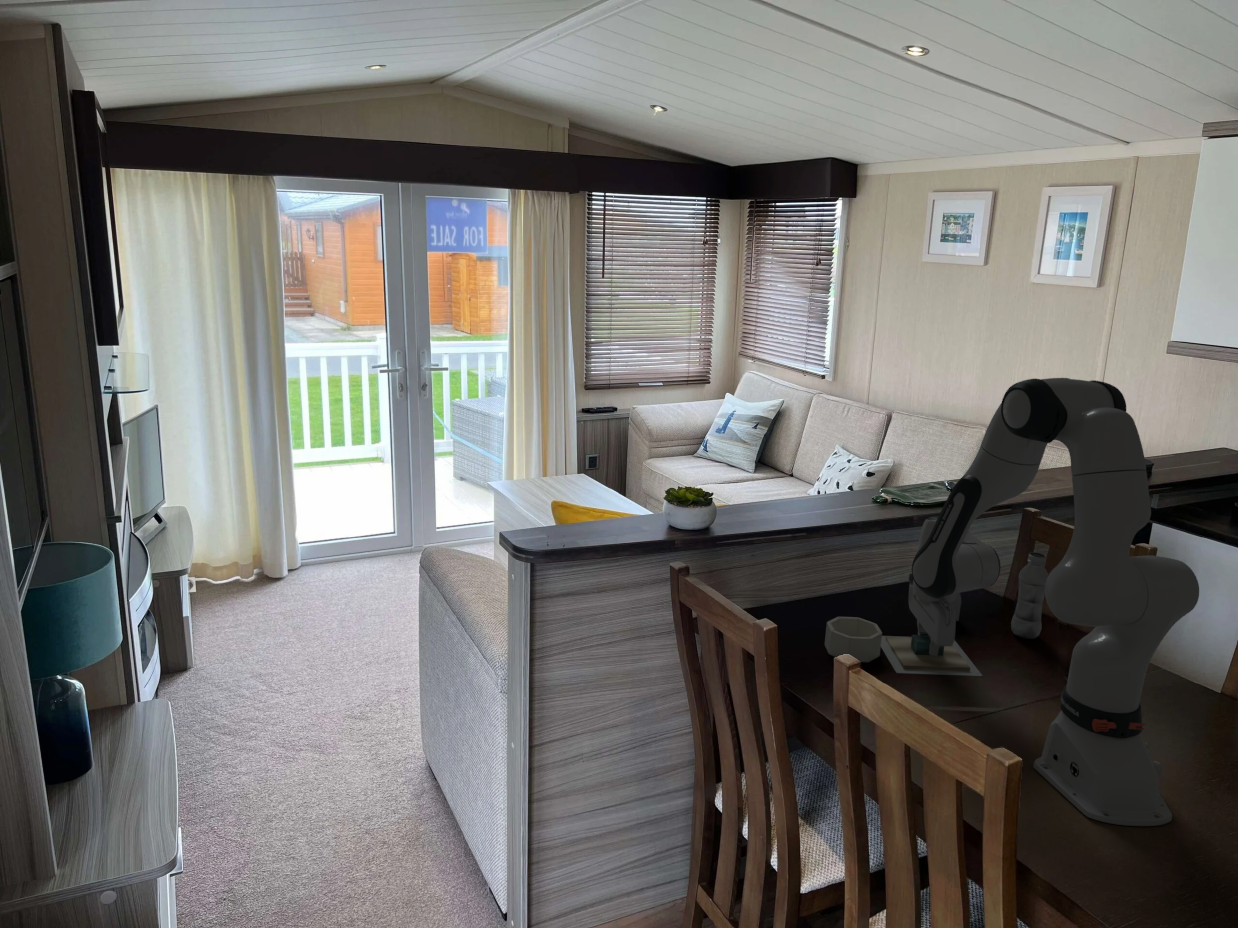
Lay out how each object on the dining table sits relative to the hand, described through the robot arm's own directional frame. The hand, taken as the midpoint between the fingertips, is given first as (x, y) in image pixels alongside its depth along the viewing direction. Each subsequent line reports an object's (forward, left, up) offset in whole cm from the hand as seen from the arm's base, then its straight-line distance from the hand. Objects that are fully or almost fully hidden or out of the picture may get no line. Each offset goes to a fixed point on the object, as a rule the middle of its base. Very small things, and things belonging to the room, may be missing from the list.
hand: (927, 646), depth 198 cm
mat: (0, 0, -2) cm, 2 cm away
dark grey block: (+20, -10, -3) cm, 23 cm away
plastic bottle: (+13, -27, -3) cm, 30 cm away
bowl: (+1, +16, -2) cm, 16 cm away
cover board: (0, 0, -2) cm, 2 cm away
